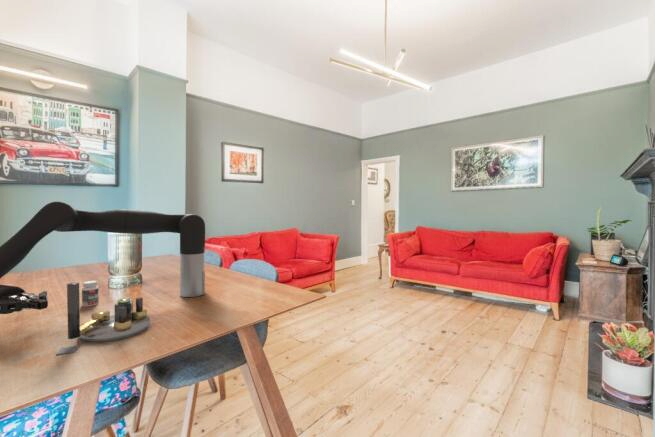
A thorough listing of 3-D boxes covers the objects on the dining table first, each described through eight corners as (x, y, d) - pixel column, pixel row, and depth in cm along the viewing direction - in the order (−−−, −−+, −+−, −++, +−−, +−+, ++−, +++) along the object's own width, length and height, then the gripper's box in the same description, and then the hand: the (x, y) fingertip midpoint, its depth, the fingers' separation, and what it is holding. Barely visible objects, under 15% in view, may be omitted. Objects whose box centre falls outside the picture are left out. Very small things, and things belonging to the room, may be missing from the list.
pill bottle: (89, 307, 107) (89, 284, 106) (78, 306, 108) (78, 283, 107) (101, 303, 111) (101, 280, 111) (91, 302, 112) (91, 280, 112)
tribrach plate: (152, 316, 99) (152, 289, 99) (146, 336, 84) (146, 305, 84) (88, 323, 92) (88, 295, 92) (69, 347, 77) (68, 314, 76)
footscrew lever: (97, 317, 91) (96, 271, 91) (112, 316, 92) (112, 271, 92) (61, 339, 76) (60, 285, 76) (80, 338, 77) (79, 284, 76)
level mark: (79, 346, 78) (79, 345, 78) (74, 352, 74) (74, 351, 74) (61, 348, 76) (61, 347, 76) (55, 355, 73) (55, 354, 73)
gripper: (-35, 291, 78) (12, 298, 73) (27, 280, 90) (71, 285, 86) (-34, 320, 78) (13, 328, 74) (28, 304, 91) (71, 310, 86)
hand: (44, 305), depth 80 cm, fingers closed
